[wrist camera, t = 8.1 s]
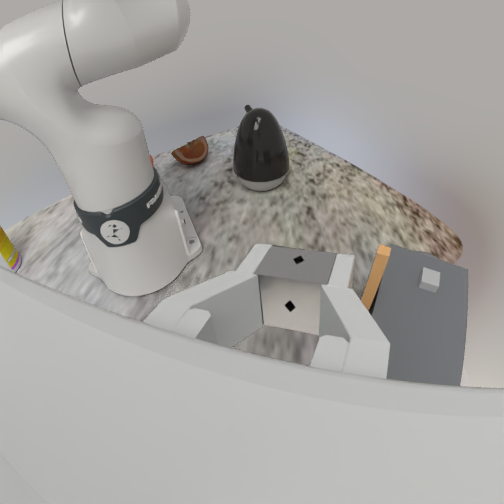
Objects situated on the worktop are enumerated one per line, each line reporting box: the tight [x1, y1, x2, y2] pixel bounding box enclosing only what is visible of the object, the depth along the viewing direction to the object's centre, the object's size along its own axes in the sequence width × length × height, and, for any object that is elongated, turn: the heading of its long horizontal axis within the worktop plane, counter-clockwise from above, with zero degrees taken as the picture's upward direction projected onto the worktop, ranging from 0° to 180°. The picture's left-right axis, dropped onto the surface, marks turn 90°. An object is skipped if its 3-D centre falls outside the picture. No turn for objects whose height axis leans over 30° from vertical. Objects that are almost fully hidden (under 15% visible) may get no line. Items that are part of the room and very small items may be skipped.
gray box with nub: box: [368, 244, 468, 386], centre depth 30 cm, size 18×10×11 cm, turn 153°
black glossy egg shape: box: [233, 105, 289, 191], centre depth 54 cm, size 10×10×15 cm
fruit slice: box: [171, 136, 208, 164], centre depth 66 cm, size 8×7×5 cm
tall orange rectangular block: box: [361, 244, 391, 311], centre depth 31 cm, size 8×1×16 cm, turn 153°
